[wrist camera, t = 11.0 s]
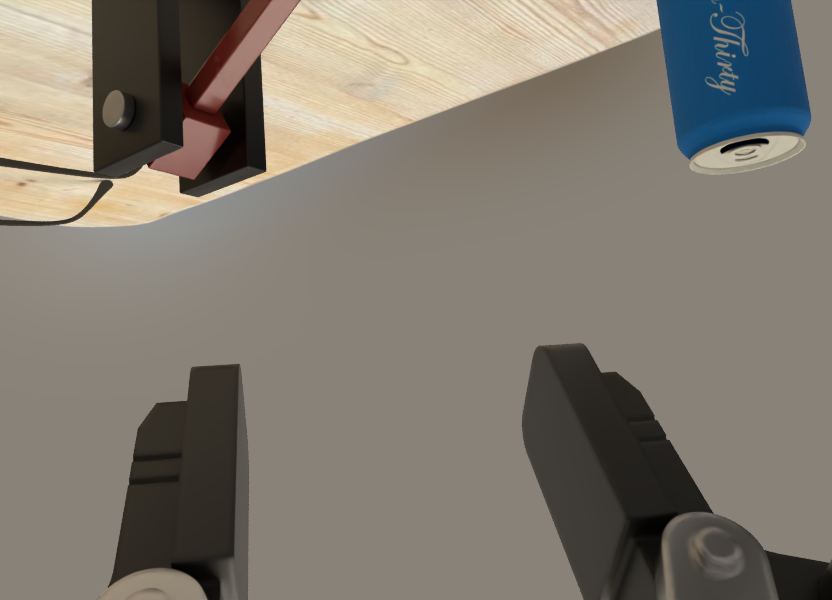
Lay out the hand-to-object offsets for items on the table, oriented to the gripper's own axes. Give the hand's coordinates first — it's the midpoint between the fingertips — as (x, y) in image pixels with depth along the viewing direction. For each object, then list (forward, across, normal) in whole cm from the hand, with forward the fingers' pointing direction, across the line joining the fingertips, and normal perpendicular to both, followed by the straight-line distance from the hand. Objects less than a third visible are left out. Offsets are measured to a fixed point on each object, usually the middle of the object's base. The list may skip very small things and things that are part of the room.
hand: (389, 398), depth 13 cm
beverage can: (+33, -22, -1) cm, 40 cm away
